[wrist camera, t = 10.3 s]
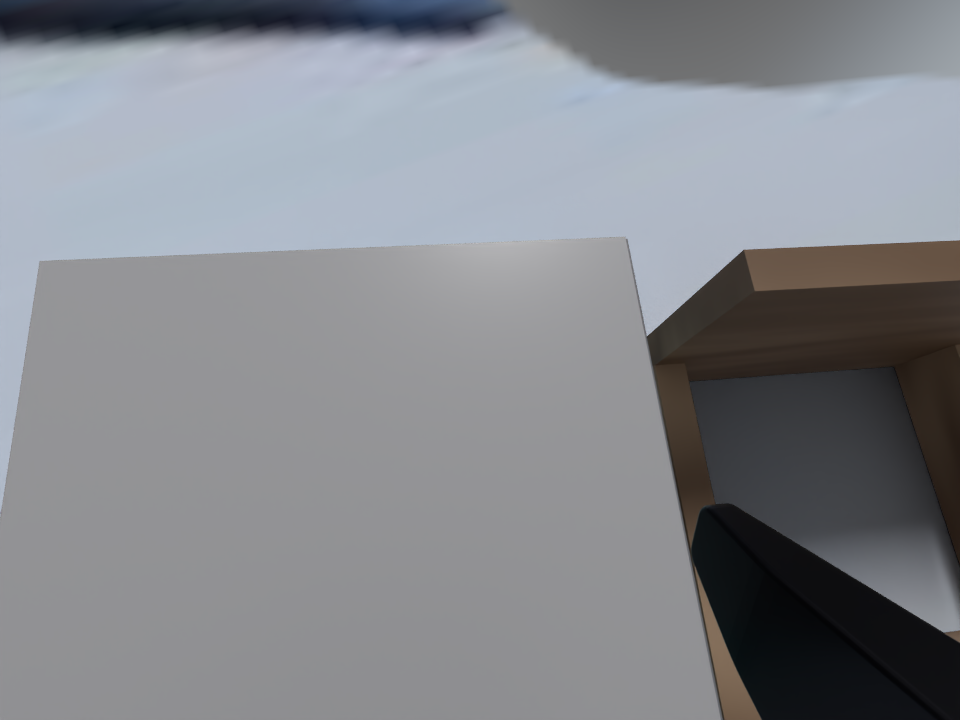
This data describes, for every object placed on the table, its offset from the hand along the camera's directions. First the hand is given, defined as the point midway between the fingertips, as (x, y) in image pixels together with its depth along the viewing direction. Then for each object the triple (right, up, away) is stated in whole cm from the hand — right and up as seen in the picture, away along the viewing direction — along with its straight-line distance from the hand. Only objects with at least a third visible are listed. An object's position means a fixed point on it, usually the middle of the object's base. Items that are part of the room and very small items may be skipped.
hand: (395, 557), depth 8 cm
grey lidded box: (-1, -2, +9) cm, 9 cm away
